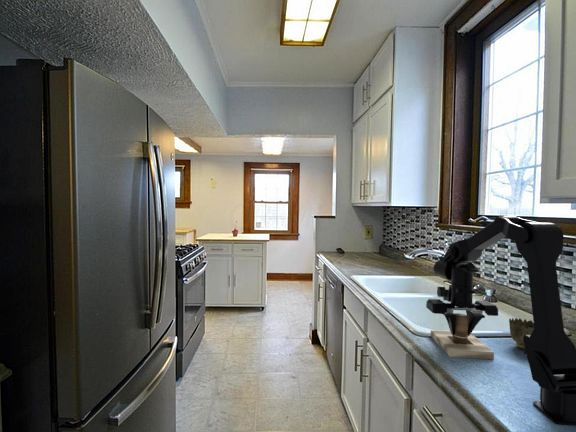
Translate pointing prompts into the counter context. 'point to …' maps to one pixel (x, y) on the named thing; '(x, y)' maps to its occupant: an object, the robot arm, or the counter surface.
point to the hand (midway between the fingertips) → (460, 334)
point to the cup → (520, 330)
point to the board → (462, 346)
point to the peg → (461, 329)
